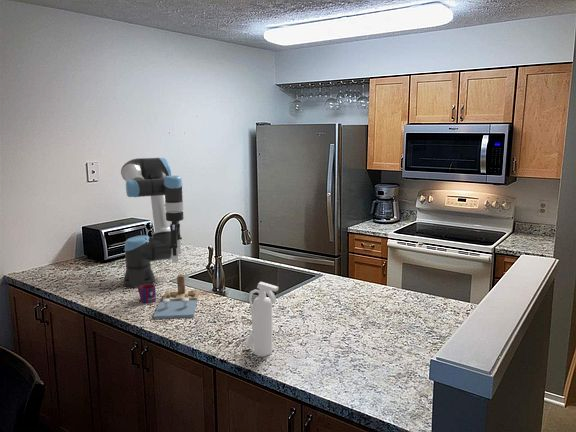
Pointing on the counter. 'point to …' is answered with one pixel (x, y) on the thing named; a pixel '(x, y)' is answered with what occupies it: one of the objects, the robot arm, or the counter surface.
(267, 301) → the fire extinguisher
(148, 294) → the red patterned cup
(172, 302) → the board
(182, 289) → the peg stand base
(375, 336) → the counter surface
